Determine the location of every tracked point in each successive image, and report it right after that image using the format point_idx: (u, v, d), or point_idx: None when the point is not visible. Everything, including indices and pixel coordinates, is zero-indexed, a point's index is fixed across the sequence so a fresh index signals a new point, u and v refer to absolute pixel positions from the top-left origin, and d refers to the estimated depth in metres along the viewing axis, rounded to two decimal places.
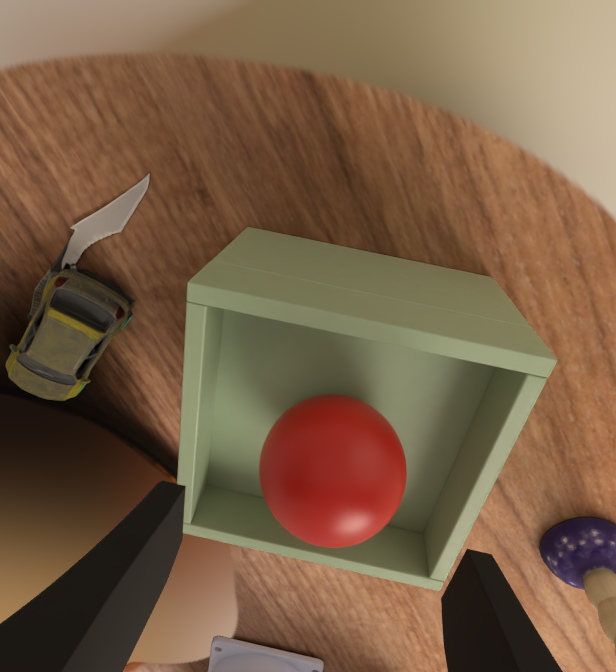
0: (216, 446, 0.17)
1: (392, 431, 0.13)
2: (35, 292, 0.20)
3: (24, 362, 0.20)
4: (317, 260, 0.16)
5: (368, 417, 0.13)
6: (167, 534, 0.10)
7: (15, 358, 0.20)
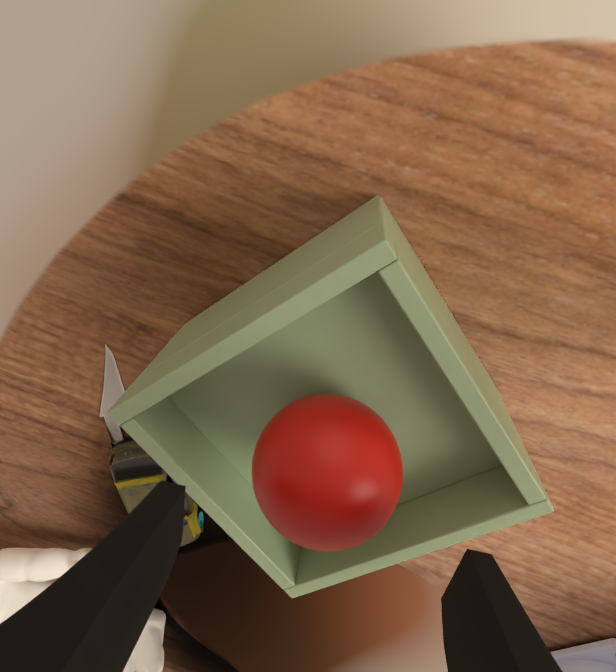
0: None
1: (336, 404, 0.13)
2: None
3: None
4: (219, 311, 0.17)
5: (302, 409, 0.13)
6: (167, 534, 0.10)
7: None
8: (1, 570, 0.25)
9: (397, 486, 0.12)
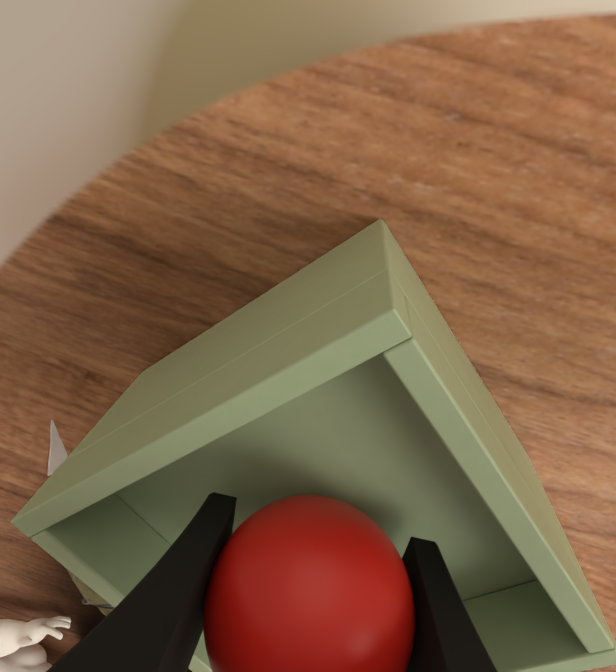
0: None
1: (321, 526, 0.09)
2: None
3: (104, 605, 0.20)
4: (175, 369, 0.13)
5: (273, 534, 0.09)
6: (222, 547, 0.10)
7: (97, 606, 0.20)
8: None
9: (408, 649, 0.09)
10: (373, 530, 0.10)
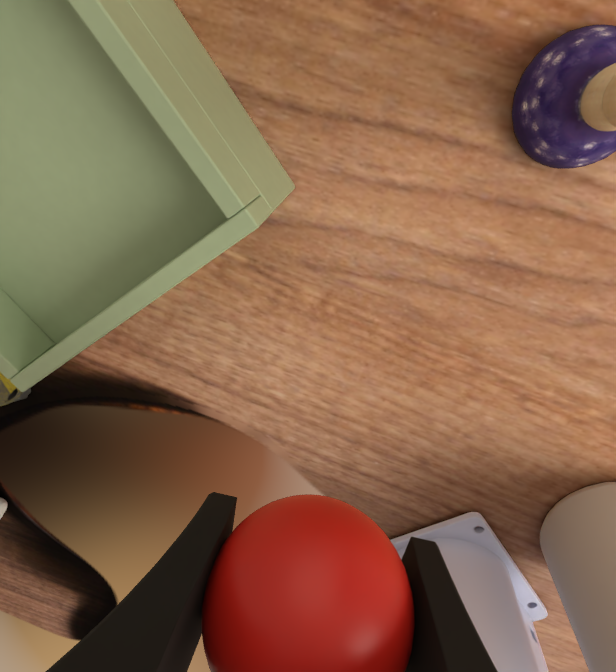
0: (14, 294, 0.15)
1: (320, 526, 0.09)
2: None
3: None
4: None
5: (272, 535, 0.09)
6: None
7: None
8: None
9: (407, 650, 0.09)
10: (372, 530, 0.09)
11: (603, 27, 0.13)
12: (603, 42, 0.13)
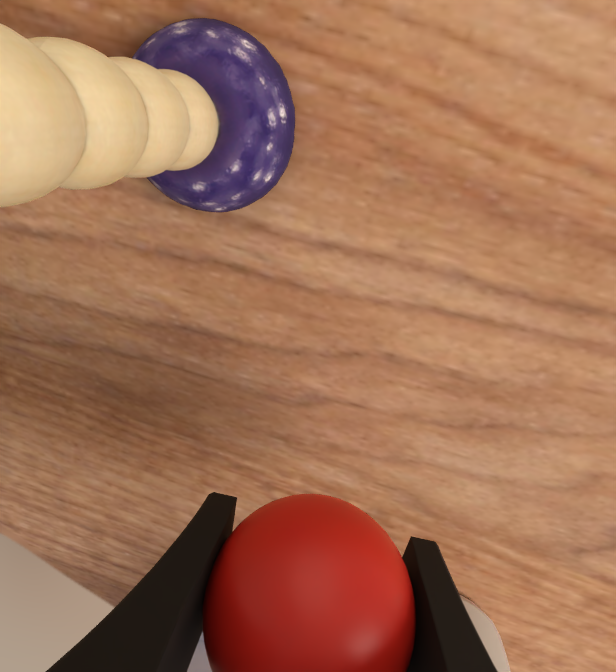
0: None
1: (321, 525, 0.09)
2: None
3: None
4: None
5: (273, 534, 0.09)
6: None
7: None
8: None
9: (409, 649, 0.09)
10: (374, 529, 0.09)
11: (187, 21, 0.09)
12: (172, 42, 0.09)
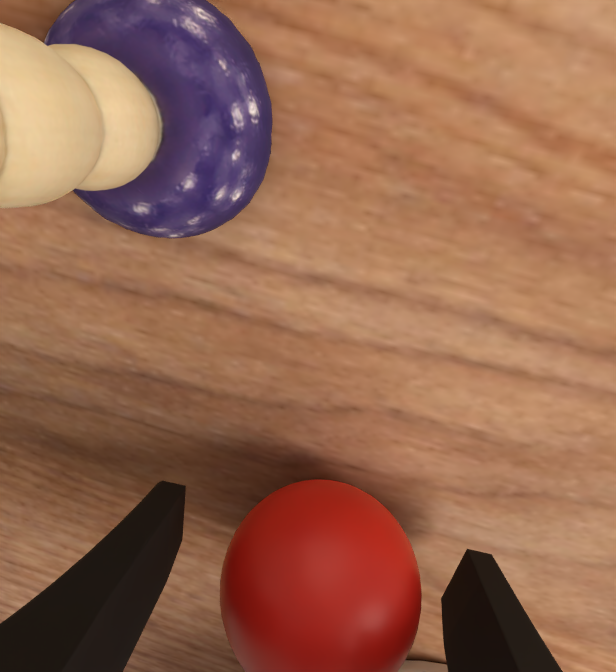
0: None
1: (332, 512, 0.09)
2: None
3: None
4: None
5: (286, 522, 0.09)
6: (167, 534, 0.10)
7: None
8: None
9: (417, 618, 0.09)
10: (379, 511, 0.10)
11: None
12: (94, 10, 0.06)
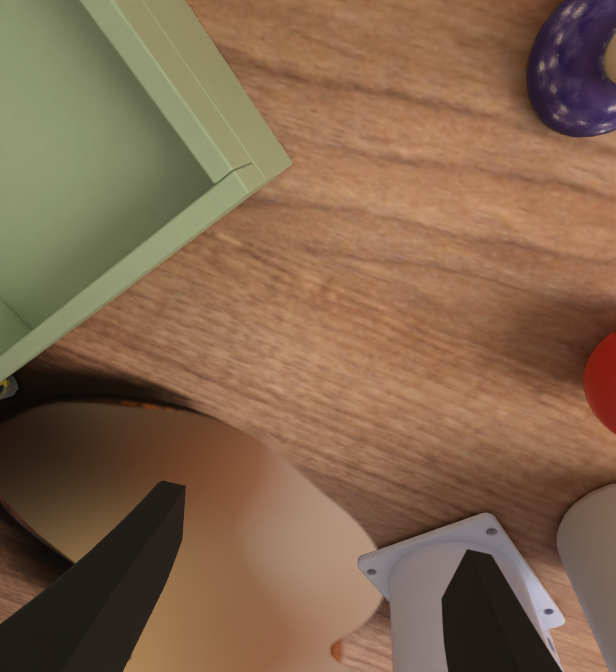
0: None
1: None
2: None
3: None
4: None
5: None
6: (167, 534, 0.10)
7: None
8: None
9: None
10: None
11: None
12: None
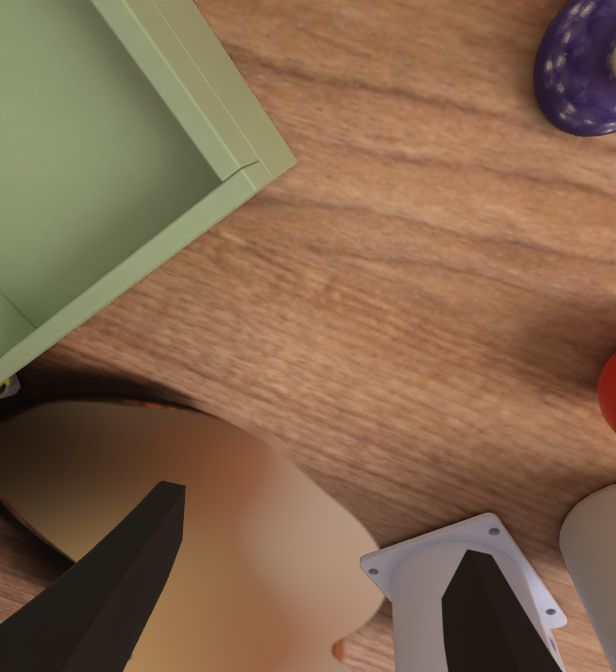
0: None
1: None
2: None
3: None
4: None
5: None
6: (167, 534, 0.10)
7: None
8: None
9: None
10: None
11: None
12: None
